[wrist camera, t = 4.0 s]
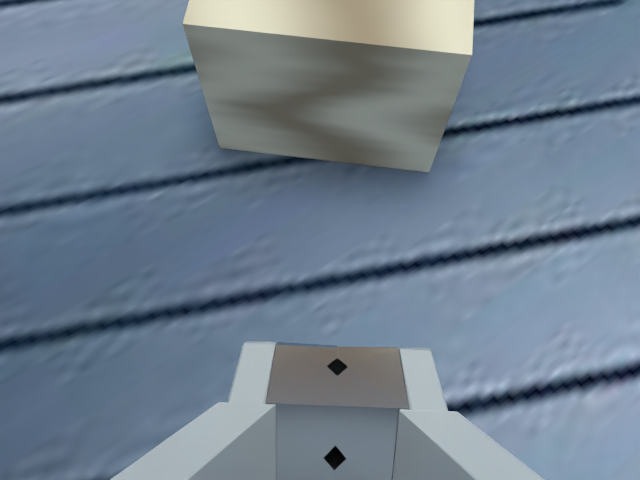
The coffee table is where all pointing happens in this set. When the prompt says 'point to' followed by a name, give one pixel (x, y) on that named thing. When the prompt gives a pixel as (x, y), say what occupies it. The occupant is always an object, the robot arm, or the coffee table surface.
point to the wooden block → (332, 75)
